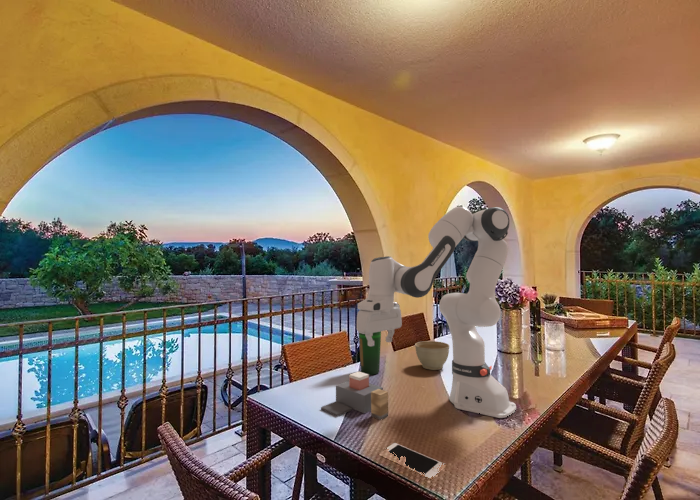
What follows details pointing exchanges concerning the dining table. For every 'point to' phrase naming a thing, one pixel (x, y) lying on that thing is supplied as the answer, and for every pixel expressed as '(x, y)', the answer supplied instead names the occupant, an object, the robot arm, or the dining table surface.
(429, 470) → the cell phone
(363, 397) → the block
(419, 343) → the planter bowl
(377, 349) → the bottle
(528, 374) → the dining table surface
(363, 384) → the button
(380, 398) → the tan wooden block
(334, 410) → the mat
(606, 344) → the dining table surface
